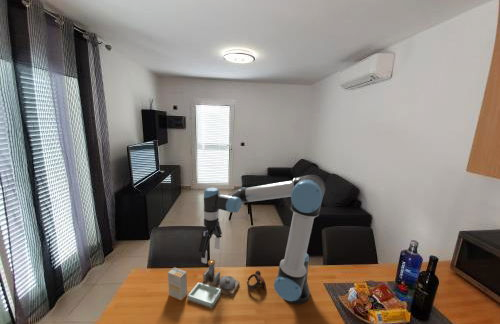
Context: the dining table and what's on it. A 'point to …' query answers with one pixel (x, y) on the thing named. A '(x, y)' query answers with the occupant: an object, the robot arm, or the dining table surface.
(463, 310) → the dining table surface
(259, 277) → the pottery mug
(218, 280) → the pulley block
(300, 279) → the robot arm
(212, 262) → the lock pin
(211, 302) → the tray
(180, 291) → the supplement box
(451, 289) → the dining table surface
